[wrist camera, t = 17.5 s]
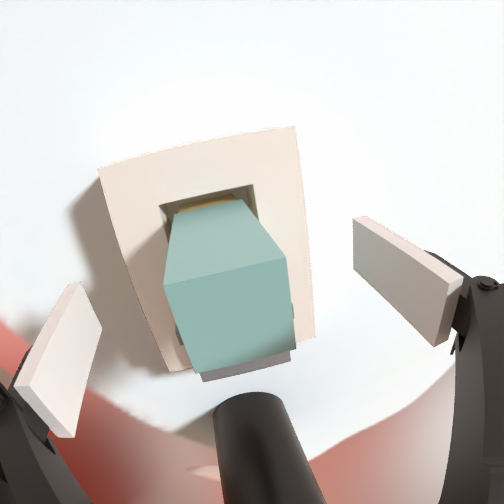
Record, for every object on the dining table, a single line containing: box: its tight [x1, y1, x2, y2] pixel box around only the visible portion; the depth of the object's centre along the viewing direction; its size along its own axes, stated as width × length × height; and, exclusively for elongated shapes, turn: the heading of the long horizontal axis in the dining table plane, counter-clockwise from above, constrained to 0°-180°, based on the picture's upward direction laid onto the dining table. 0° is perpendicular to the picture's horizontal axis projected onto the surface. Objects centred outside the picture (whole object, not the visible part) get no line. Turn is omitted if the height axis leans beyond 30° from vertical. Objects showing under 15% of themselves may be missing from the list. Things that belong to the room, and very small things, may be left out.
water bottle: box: [213, 392, 327, 504], centre depth 21 cm, size 10×10×23 cm
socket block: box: [98, 126, 315, 372], centre depth 21 cm, size 16×12×4 cm
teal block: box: [163, 193, 296, 373], centre depth 16 cm, size 4×4×12 cm
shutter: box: [175, 302, 294, 382], centre depth 20 cm, size 7×7×3 cm
